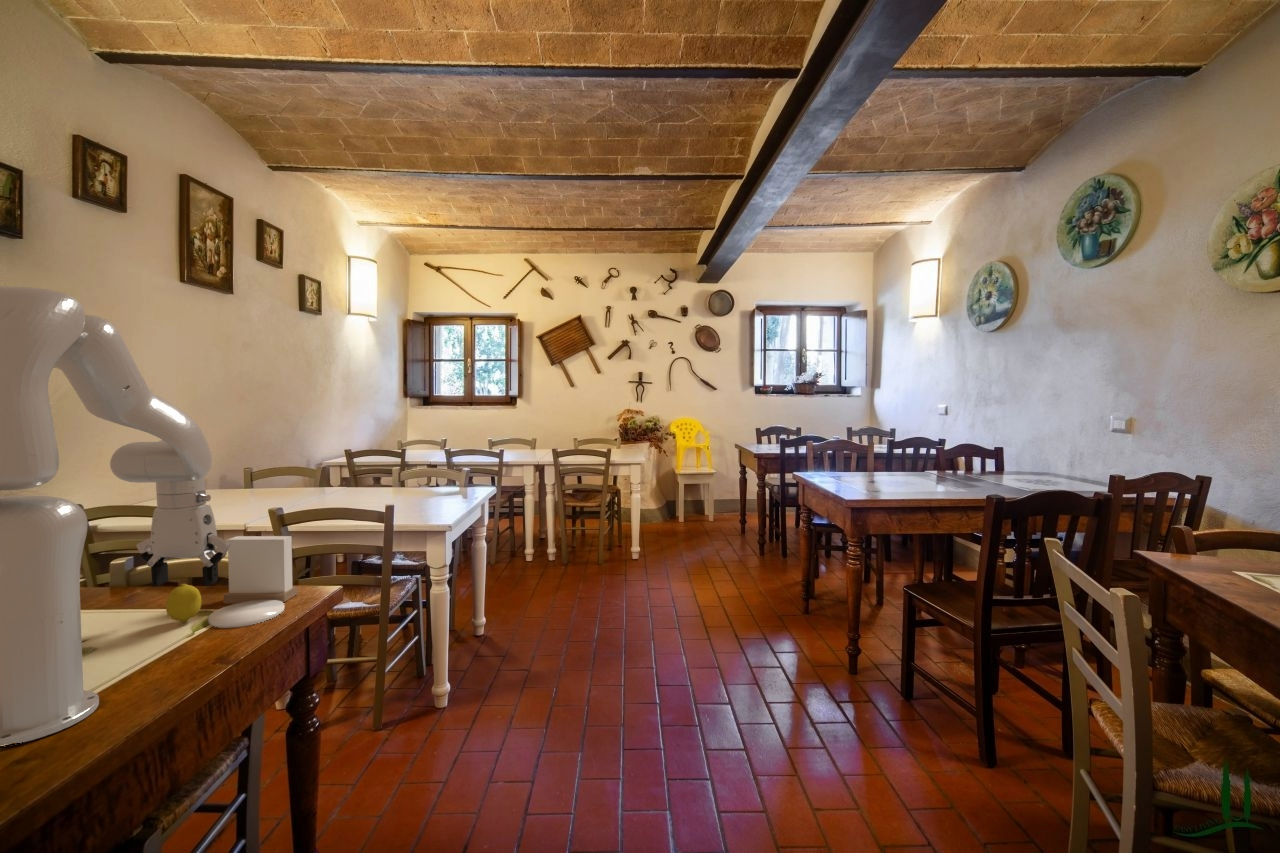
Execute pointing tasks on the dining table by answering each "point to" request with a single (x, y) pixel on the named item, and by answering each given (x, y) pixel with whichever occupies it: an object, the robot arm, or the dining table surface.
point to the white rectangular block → (260, 569)
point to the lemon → (183, 603)
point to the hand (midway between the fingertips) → (185, 583)
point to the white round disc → (246, 613)
